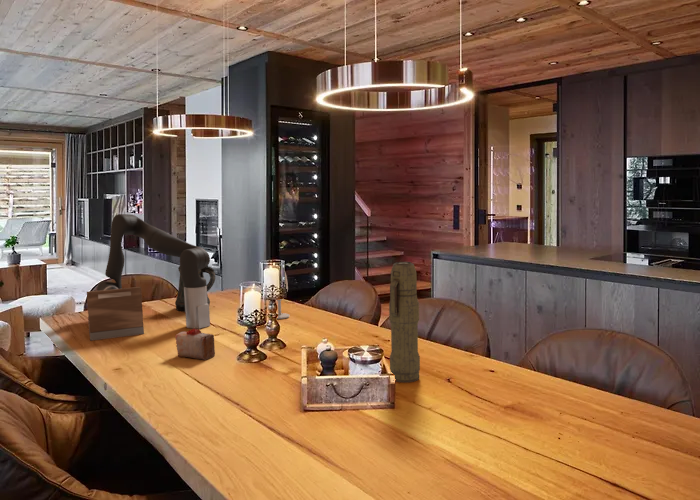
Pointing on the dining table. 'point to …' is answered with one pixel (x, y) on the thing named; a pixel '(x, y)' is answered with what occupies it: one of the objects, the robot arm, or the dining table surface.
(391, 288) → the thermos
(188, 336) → the food item
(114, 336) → the tray
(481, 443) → the dining table surface
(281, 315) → the wineglass
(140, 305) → the panel
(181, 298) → the beer stein
